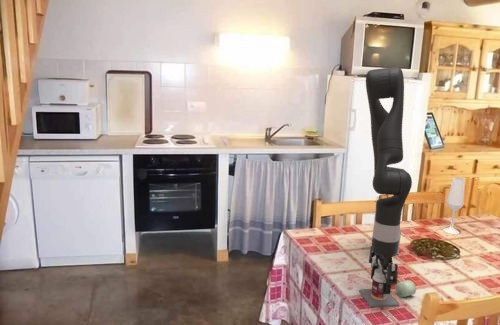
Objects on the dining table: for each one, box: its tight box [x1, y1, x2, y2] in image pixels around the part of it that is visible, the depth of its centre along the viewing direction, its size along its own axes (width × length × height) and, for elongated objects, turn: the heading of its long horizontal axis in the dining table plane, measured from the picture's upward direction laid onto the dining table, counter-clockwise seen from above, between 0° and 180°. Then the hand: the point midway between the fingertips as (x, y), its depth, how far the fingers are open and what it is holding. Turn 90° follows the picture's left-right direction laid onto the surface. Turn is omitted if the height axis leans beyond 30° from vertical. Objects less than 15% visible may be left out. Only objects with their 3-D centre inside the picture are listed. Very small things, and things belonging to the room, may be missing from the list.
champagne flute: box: [442, 176, 466, 235], centre depth 184 cm, size 7×7×24 cm
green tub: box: [395, 279, 417, 298], centre depth 131 cm, size 4×4×4 cm
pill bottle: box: [370, 268, 387, 300], centre depth 128 cm, size 5×5×8 cm
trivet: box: [358, 288, 400, 308], centre depth 129 cm, size 9×9×1 cm
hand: (380, 286), depth 128 cm, fingers open, 8 cm apart
